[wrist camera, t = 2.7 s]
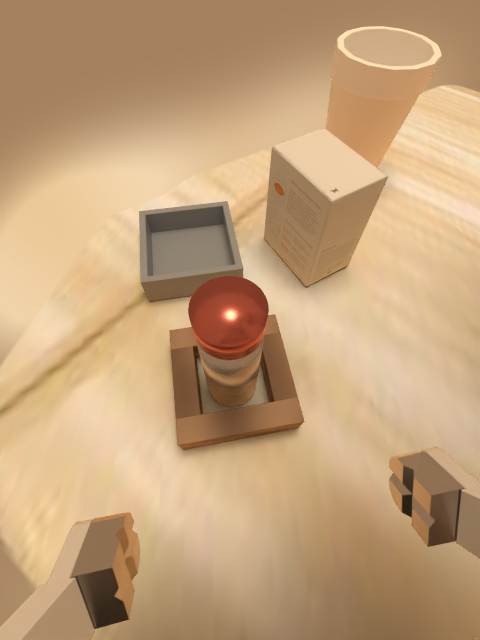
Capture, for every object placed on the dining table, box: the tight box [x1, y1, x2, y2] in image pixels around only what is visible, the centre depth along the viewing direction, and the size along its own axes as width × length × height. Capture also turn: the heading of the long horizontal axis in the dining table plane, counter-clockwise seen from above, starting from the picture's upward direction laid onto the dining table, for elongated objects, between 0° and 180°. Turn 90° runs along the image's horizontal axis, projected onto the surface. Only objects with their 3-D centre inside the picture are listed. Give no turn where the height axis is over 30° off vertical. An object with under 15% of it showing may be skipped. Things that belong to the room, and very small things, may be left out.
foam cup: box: [326, 27, 442, 168], centre depth 34 cm, size 10×9×13 cm
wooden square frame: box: [170, 315, 304, 449], centre depth 25 cm, size 9×9×2 cm
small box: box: [264, 129, 388, 287], centre depth 28 cm, size 8×6×10 cm
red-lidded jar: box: [188, 276, 269, 407], centre depth 20 cm, size 4×4×12 cm
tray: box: [139, 201, 243, 302], centre depth 31 cm, size 9×9×3 cm
